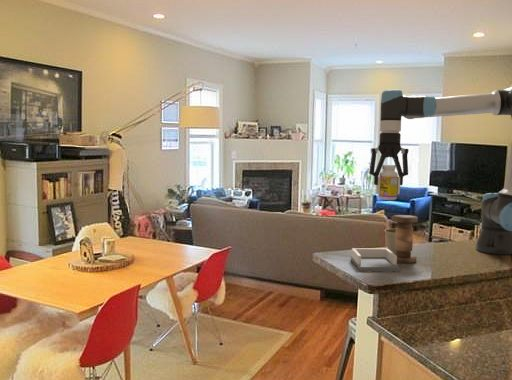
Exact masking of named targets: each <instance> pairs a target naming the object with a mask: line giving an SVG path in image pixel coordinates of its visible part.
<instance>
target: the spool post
mask: <svg viewBox="0 0 512 380" xmlns="http://www.w3.org/2000/svg"><path fill="white" fill-rule="evenodd" d="M418 219H419V217H418V216H416V215H409V214H408V215H407V214H406V215H405V214H395V215H392V216H391V221H392V222H395V223H396V225H397V226H395V229H396V236H395V250H397V251H396V254H395V255H396V256H397V263H398V264H414V263H417V255H413V254H412V251H413V247H414V246H413V241H414V227H412V224H414V223H415V224H416V223H418V221H419V220H418Z"/></svg>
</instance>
